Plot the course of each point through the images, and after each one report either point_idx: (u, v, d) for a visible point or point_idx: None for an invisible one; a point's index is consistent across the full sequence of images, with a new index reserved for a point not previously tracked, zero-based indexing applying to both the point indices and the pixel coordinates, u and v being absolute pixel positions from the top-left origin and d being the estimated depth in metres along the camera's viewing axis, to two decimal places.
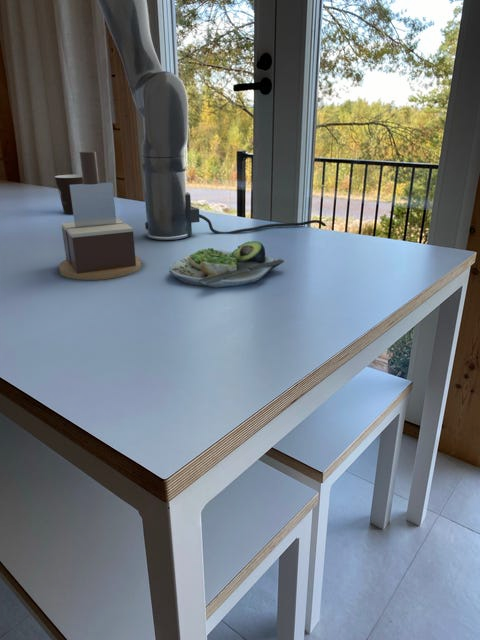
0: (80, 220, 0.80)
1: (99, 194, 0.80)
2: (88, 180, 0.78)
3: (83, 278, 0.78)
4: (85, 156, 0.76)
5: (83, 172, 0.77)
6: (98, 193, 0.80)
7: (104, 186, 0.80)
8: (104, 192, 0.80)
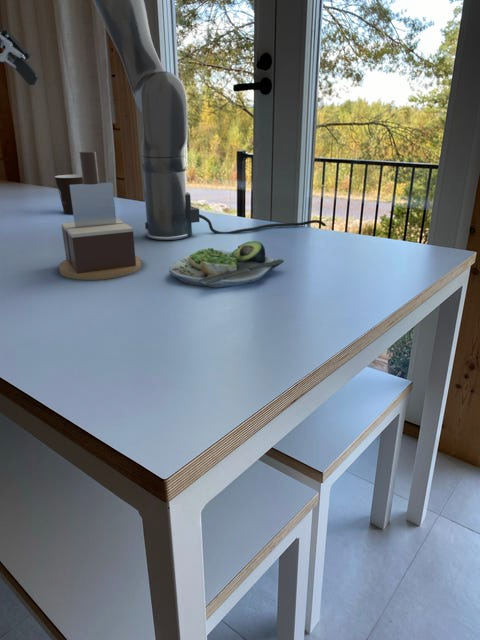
0: (80, 220, 0.80)
1: (99, 194, 0.80)
2: (88, 180, 0.78)
3: (83, 278, 0.78)
4: (85, 156, 0.76)
5: (83, 172, 0.77)
6: (98, 193, 0.80)
7: (104, 186, 0.80)
8: (104, 192, 0.80)
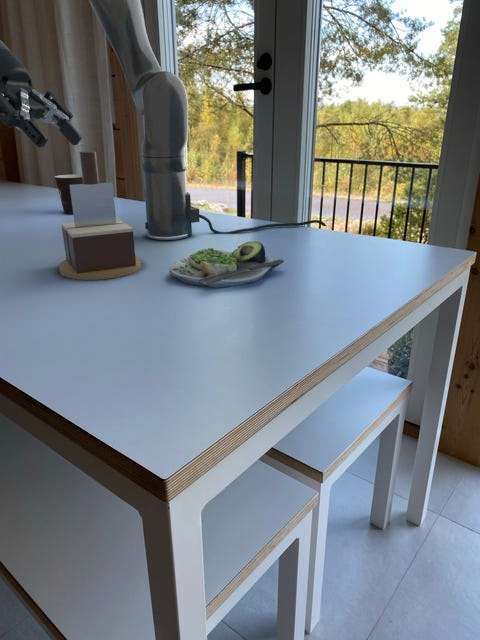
0: (80, 220, 0.80)
1: (99, 194, 0.80)
2: (88, 180, 0.78)
3: (83, 278, 0.78)
4: (85, 156, 0.76)
5: (83, 172, 0.77)
6: (98, 193, 0.80)
7: (104, 186, 0.80)
8: (104, 192, 0.80)
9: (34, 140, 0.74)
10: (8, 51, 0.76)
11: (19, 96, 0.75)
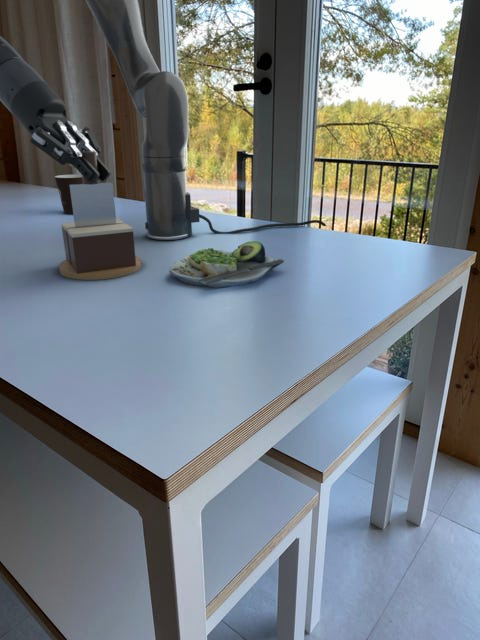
0: (80, 220, 0.80)
1: (99, 194, 0.80)
2: None
3: (83, 278, 0.78)
4: (85, 156, 0.76)
5: None
6: (98, 193, 0.80)
7: (104, 186, 0.80)
8: (104, 192, 0.80)
9: (86, 176, 0.76)
10: (44, 83, 0.76)
11: (60, 131, 0.75)
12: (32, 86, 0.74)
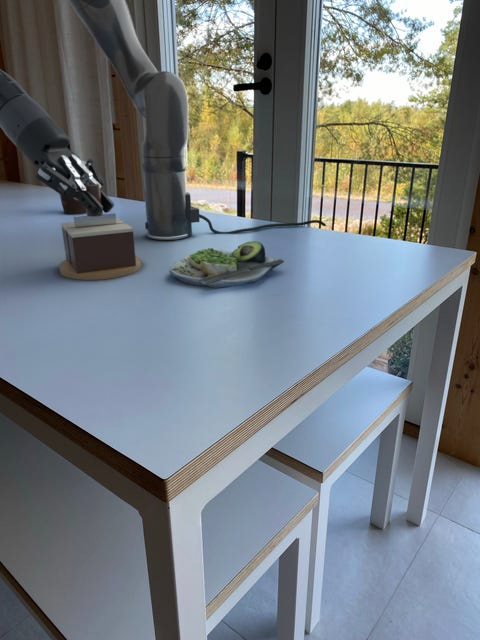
0: None
1: (102, 225, 0.82)
2: None
3: (83, 278, 0.78)
4: (89, 190, 0.78)
5: None
6: (102, 224, 0.82)
7: (108, 218, 0.82)
8: (108, 223, 0.83)
9: (90, 210, 0.78)
10: (49, 119, 0.78)
11: (65, 165, 0.77)
12: (38, 123, 0.76)
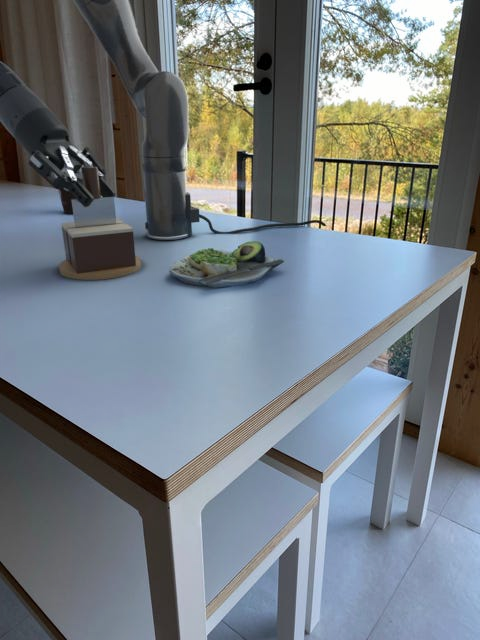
0: None
1: (101, 208, 0.81)
2: None
3: (83, 278, 0.78)
4: (87, 171, 0.77)
5: (85, 187, 0.78)
6: (100, 207, 0.81)
7: (106, 201, 0.81)
8: (106, 206, 0.81)
9: (81, 200, 0.76)
10: (47, 109, 0.77)
11: (60, 155, 0.76)
12: (35, 113, 0.75)
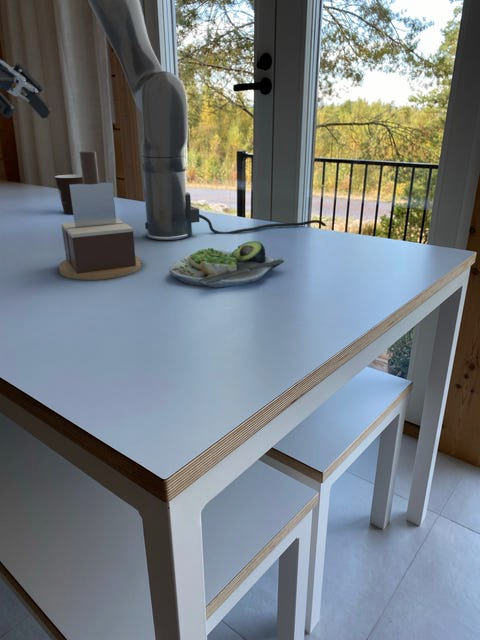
0: (80, 220, 0.80)
1: (99, 194, 0.80)
2: (88, 180, 0.78)
3: (83, 278, 0.78)
4: (85, 156, 0.76)
5: (83, 172, 0.77)
6: (98, 193, 0.80)
7: (104, 186, 0.80)
8: (104, 192, 0.80)
9: (0, 110, 0.73)
10: None
11: None
12: None
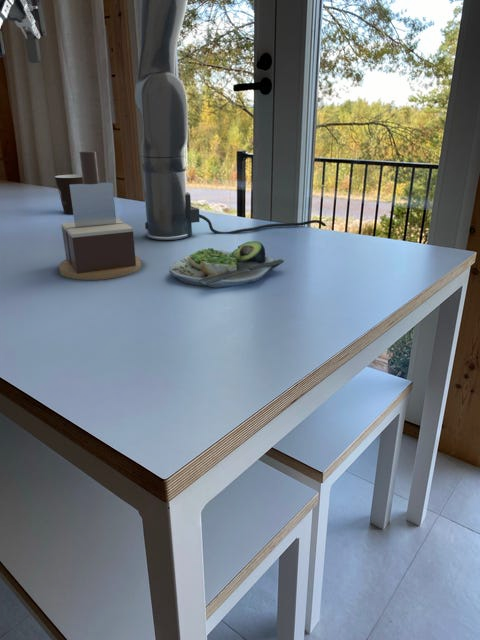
0: (80, 220, 0.80)
1: (99, 194, 0.80)
2: (88, 180, 0.78)
3: (83, 278, 0.78)
4: (85, 156, 0.76)
5: (83, 172, 0.77)
6: (98, 193, 0.80)
7: (104, 186, 0.80)
8: (104, 192, 0.80)
9: None
10: None
11: (4, 0, 0.77)
12: None
